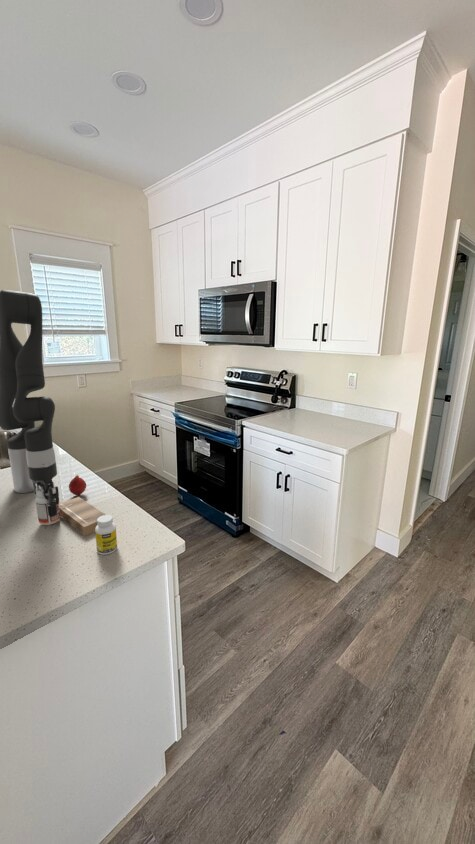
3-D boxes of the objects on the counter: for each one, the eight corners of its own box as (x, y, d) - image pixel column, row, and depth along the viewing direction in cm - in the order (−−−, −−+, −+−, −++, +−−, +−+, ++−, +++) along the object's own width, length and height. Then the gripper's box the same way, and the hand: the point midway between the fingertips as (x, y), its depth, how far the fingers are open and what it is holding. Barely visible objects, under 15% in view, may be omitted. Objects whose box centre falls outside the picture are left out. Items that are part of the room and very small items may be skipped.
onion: (80, 499, 127) (78, 479, 125) (66, 498, 128) (64, 477, 126) (90, 492, 132) (88, 473, 130) (76, 491, 134) (74, 471, 131)
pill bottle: (60, 514, 115) (56, 482, 112) (60, 523, 110) (56, 490, 107) (39, 518, 113) (34, 485, 110) (38, 527, 107) (33, 493, 104)
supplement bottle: (102, 558, 95) (99, 525, 93) (93, 549, 99) (90, 518, 96) (121, 549, 99) (118, 518, 97) (111, 541, 103) (109, 511, 100)
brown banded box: (56, 513, 118) (55, 504, 117) (79, 504, 124) (78, 496, 123) (85, 535, 105) (84, 526, 104) (109, 525, 111) (108, 516, 110)
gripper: (19, 459, 108) (26, 508, 112) (38, 472, 99) (45, 524, 103) (45, 453, 113) (51, 500, 118) (64, 464, 104) (70, 515, 109)
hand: (48, 511), depth 110 cm, fingers closed on pill bottle, 6 cm apart
